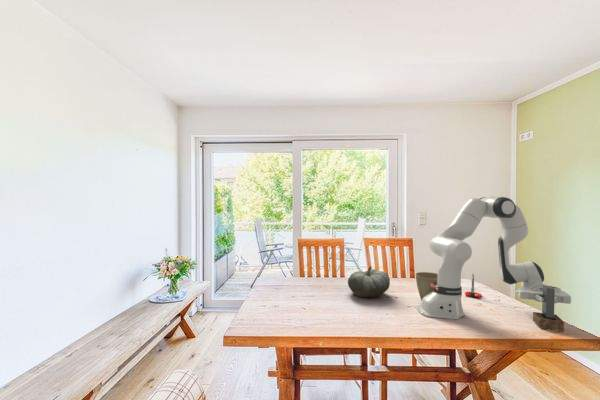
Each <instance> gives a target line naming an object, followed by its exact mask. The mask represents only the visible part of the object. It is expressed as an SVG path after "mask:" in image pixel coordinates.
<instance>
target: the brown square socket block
mask: <svg viewBox="0 0 600 400" xmlns="http://www.w3.org/2000/svg"><path fill="white" fill-rule="evenodd" d="M533 321H534V322H535V323H534V322H533ZM532 322H533V323H534V324H535V326H537V328H538V327H539V328H541V329H540V330H546V329H550V330H549V331H553V330H558V331H557V332H560V331H564V332H565V321H564V320H563V319H562V318H560V316H558V315H557V314H554V320H552V319H545V318H544V317H543V316H542V312H536V311H532ZM539 328H538V329H539Z"/></svg>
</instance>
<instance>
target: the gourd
mask: <svg viewBox="0 0 600 400" xmlns="http://www.w3.org/2000/svg"><path fill="white" fill-rule="evenodd" d="M390 281H391V279H390V277H389V275H388V274H387V272H384V271H382V270H379V269H377V268H372V267H371V266H369V267H368V269H367V270H366V271H362V270H361V271H360V270H359V271H355V272H353V273H351V274H350V276H349V277H348V279H347V285H348V288H349V289H350V291H351V292H352V293H354V295H356V296H358V297H360V298H374V297H376V298H377V297H380V296H382V295H383V294H385V293H386V292H387V291H388V290H389V288H390V283H391V282H390Z"/></svg>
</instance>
